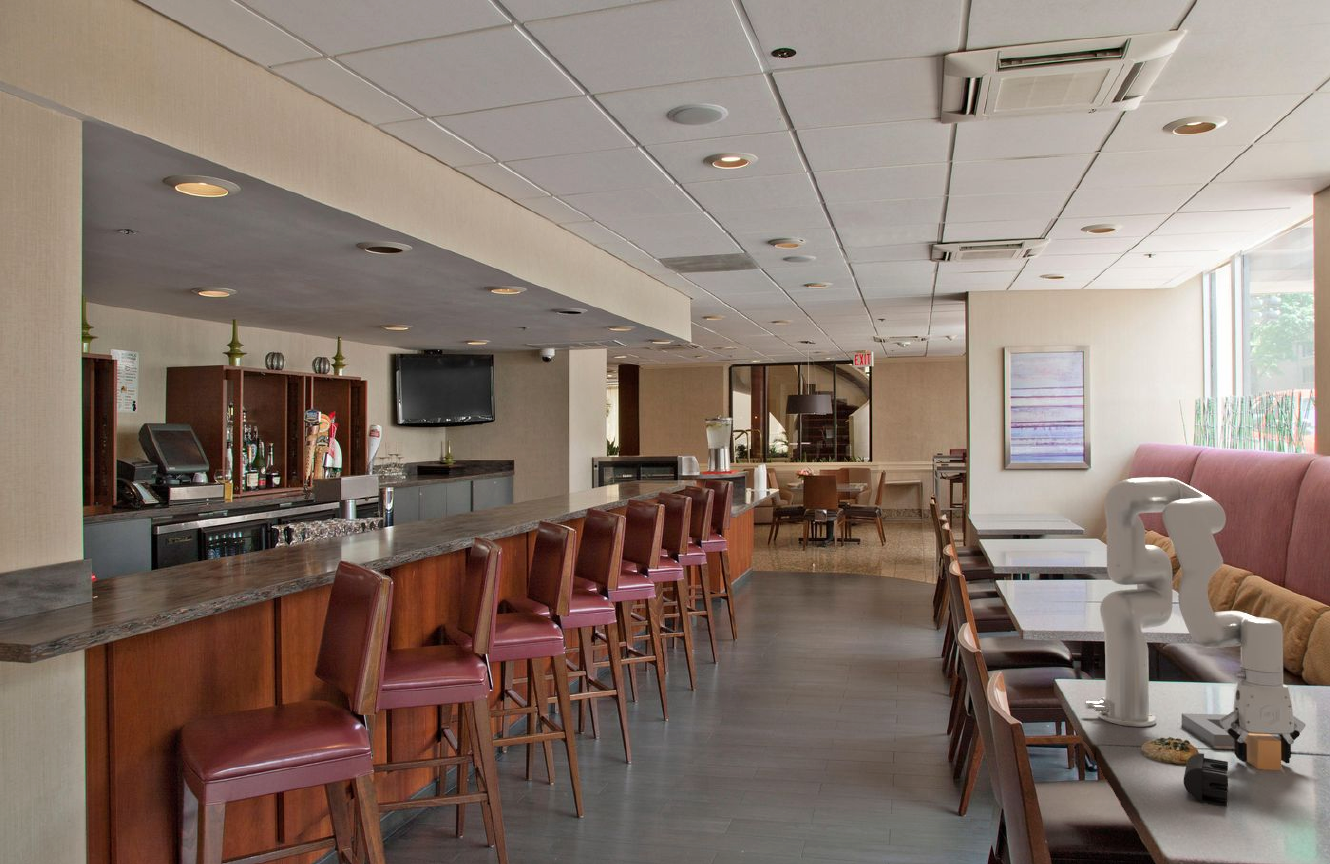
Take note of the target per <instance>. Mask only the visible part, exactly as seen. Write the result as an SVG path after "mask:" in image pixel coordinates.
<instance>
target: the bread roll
mask: <svg viewBox="0 0 1330 864" xmlns="http://www.w3.org/2000/svg"><path fill="white" fill-rule="evenodd" d="M1140 748H1141V750H1142V754H1143V756H1145V757H1147V758H1149V759H1152V760H1155V761H1159V762H1162V763H1168V764H1169V763H1170V764H1171V763H1173V764H1176V765H1181V766H1183V765H1185V766H1186V764H1187V761H1188V759H1189V758H1190V757H1191V756H1193V755H1194V754H1199V753H1200V752H1199V749H1198V748H1196V746H1194V745H1192V743H1190V741H1189V740H1188V739H1184V740H1182V738H1179V737H1177V738H1174V737H1172V736H1168V737H1167V738H1165V737H1160V738H1159V737H1158V738H1156V739H1155V740H1148V741H1145V743H1143V744H1142V745H1141V747H1140Z"/></svg>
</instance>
